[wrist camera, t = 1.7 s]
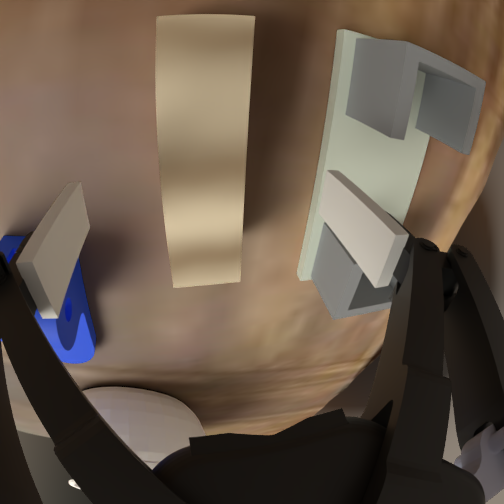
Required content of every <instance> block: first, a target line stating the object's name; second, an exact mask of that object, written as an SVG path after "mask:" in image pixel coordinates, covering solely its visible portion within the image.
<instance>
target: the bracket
mask: <svg viewBox="0 0 504 504" xmlns="http://www.w3.org/2000/svg"><path fill="white" fill-rule="evenodd" d="M25 237H26V236H3V238H2V239H1V241H0V251H1V252H3V253H4V255H5V257H6V259H7V262H8V264H9V262H10V260H11V259H12V257H13V255H14V254H15V252H16V250H17V248H19V245H20V244H21V242H22V240H23V239H24V238H25ZM34 316H35V318H36V320H37V322H38V324H39V325H40V327H41V329H42V331H43V332H44V334H45V336H46V338H47V339H48V341H49V343H50V344H51V346H52V348H53V349H54V351H55V352H56V354H57V356H58V357H59V359H60V360H61V361H62V362H66V363H75V364H76V363H84V362H87V361H89V360H90V359H91V358H92V357H93V356H94V352H95V344H96V334H95V330H94V326H93V323H92V319H91V315H90V310H89V306H88V302H87V297H86V293H85V288H84V283H83V278H82V273H81V267H80V261H79V257H78V259H77V262H76V265H75V268H74V270H73V273H72V276H71V279H70V282H69V285H68V288H67V291H66V294H65V297H64V300H63V304H62V307H61V310H60V314H59V317H58V318H53V319H43V318H42V317H41V315H40V313H39V311H38V309H37V310H36V312H35V315H34ZM1 341H2V339H1Z"/></svg>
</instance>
